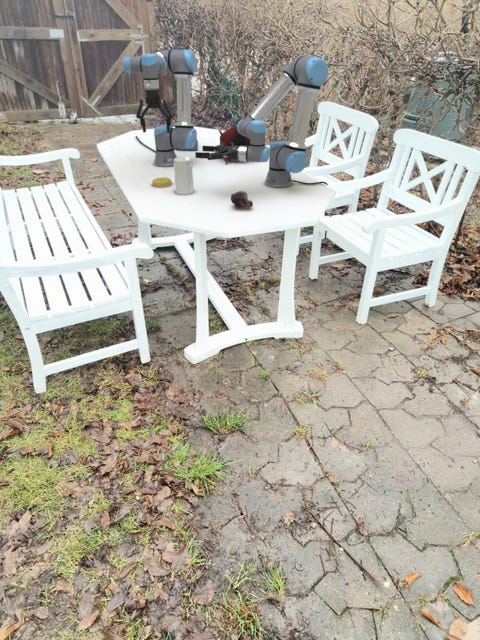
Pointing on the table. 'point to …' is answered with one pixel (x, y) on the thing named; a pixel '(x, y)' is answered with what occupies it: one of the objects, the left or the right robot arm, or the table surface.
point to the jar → (183, 175)
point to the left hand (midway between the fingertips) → (156, 132)
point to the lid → (161, 182)
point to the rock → (241, 200)
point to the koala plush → (190, 148)
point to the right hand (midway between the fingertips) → (199, 151)
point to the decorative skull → (233, 139)
